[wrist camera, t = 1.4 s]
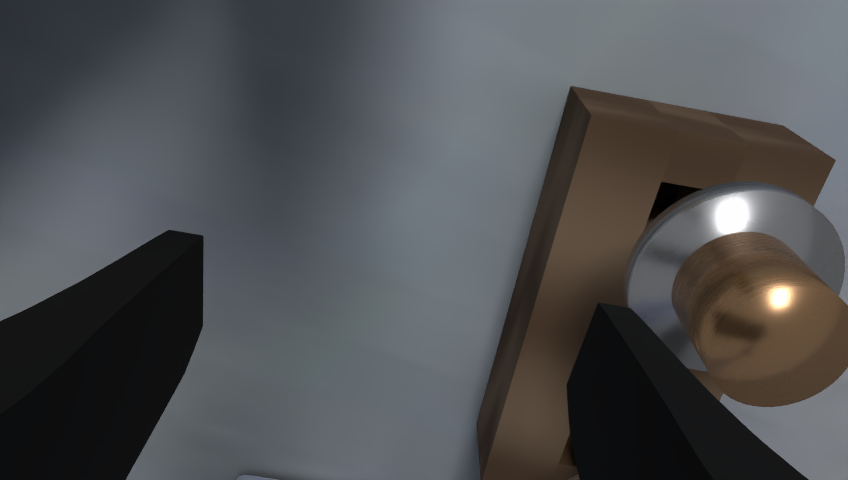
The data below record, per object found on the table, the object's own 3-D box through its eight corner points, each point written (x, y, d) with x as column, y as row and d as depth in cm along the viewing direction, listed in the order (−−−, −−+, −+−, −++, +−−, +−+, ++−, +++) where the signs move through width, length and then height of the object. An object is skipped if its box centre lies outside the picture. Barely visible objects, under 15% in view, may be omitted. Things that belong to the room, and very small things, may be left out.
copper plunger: (732, 304, 21) (842, 456, 15) (575, 278, 21) (627, 423, 15) (801, 153, 19) (961, 266, 13) (626, 121, 18) (710, 221, 13)
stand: (642, 448, 28) (665, 511, 25) (476, 423, 27) (480, 483, 25) (783, 125, 22) (835, 160, 19) (570, 86, 21) (591, 115, 18)
